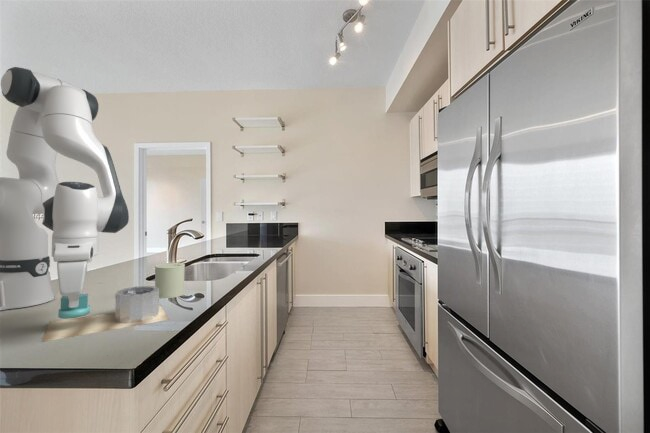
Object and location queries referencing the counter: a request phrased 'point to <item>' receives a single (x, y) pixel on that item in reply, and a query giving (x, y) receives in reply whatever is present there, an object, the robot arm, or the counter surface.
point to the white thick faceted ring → (137, 304)
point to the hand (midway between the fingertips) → (74, 304)
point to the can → (170, 279)
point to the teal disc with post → (76, 311)
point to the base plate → (91, 325)
